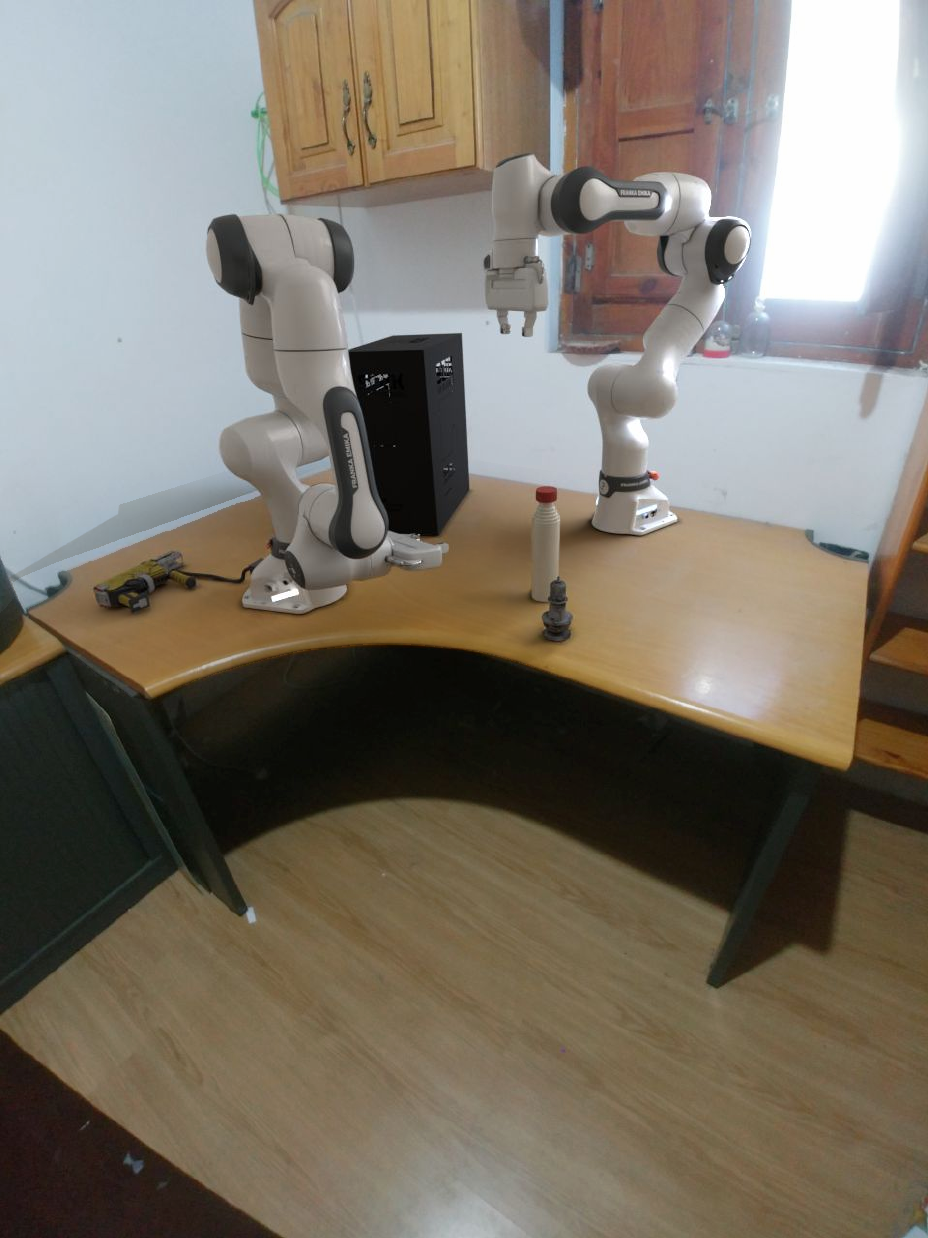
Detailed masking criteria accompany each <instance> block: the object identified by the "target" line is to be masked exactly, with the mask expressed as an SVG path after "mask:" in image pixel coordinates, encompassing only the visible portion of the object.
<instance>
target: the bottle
mask: <svg viewBox="0 0 928 1238" xmlns="http://www.w3.org/2000/svg"><path fill="white" fill-rule="evenodd" d="M560 536H561V516H560V514H559V511H558V510H557V508H556V506H555V504H554V502H552V503H541V502H538V505H537V507H536V508H535V511H534V513H533V514H532V518H531V582H530V583H531V584H530V585H531V588H530V589H531V593H530V594H531V595H530V596H531V598H532V599H533V600H534V601H537V602H542V603H548V602H549V601H548V597H549V596H550V584H551V582H552V581H554V580H557V577H558V576H559V575H560V574H559V573H560V571H559V570H560V543H561V542H560V541H561V539H560ZM559 577H560V576H559Z"/></svg>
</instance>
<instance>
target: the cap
mask: <svg viewBox="0 0 928 1238" xmlns="http://www.w3.org/2000/svg"><path fill="white" fill-rule="evenodd" d="M535 500H536V502H538V503H539V502H541V503H552V502H553V503H555V502H556V501H557V500H558V489H557V487H555V486H550V485H544V486H539V487H537V488H536V489H535Z"/></svg>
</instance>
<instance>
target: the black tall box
mask: <svg viewBox="0 0 928 1238" xmlns="http://www.w3.org/2000/svg"><path fill="white" fill-rule="evenodd" d="M463 346H464V345H463V332H452V333H450V332H448V333H424V334H423V333H421V334H419V333H418V334H396V335H395V334H393V335H390V336H387V337H383V338H381V339H377V340H374V341H371V342H368V343H364V344H362V345H359V346H355V347H352V348H348V353H349V361H350V368H351V374H352V380H353V384H354V389H355V392H356V396H357V399H358V401H359V404H360V407H361V411H362V414H363V418H364V423H365V428H366V433H367V438H368V444H369V450H370V456H371V461H372V467H373V473H374V479H375V484H376V489H377V492H378V495H379V498H380V500H381V502H382V504H383V506H384V508H385V510H386V512H387V515H388V521H389V527H388V531H391V532H394V533H398V534H408V535H409V534H417V535H419V536H437V537H438V536H439V535H440V534H441V533H442V531H443V529H444V528H445V526H446V525H447V523H448V522H450V521H449V520H450V519H451V518H452V516H453V515H454V513H455V512H456V511H457V509H458V508H459V506H460V505H461V503H462V502H463V500H464V499H465V498H466V496H467V494H468V493H469V492H470V475H469V474H470V471H469V452H468V430H467V428H468V427H467V412H466V411H467V410H466V409H467V408H466V407H467V406H466V389H465V387H466V386H465V369H464V368H465V367H464V348H463ZM442 362H444V364H443V363H442ZM438 364H439V365H438Z"/></svg>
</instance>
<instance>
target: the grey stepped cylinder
mask: <svg viewBox="0 0 928 1238" xmlns="http://www.w3.org/2000/svg"><path fill="white" fill-rule="evenodd" d="M568 600H569V598H568V596H567V583H566V581H564V580H562V579H561V577H560V576H558V577H557V580H554V581H552V582H551V584H550V596H549V597H548V601H549V605H548V610H546V611H544V612H543V613H542V614H541V616H540V617H541V620H542V621H543V622H542V623H543V626H544V629H543V630H542V636H543V637H544V638H545V639H547V640H548V641H553V642H554V641H555V642H561V641H565V640H568V639H570V637H571V636H572V632H571V630H570V629H569V628H570V626H571V625H572V622H573V621H574V615H573V614H572V613H571V612H570V611H567V602H568Z"/></svg>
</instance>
